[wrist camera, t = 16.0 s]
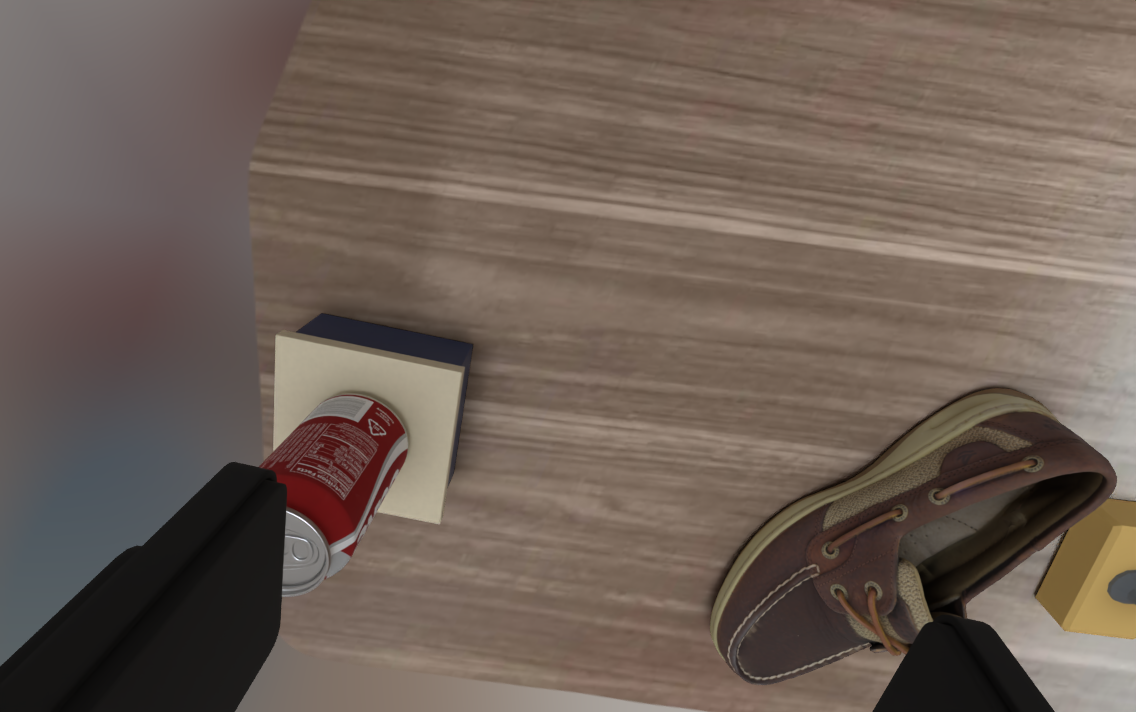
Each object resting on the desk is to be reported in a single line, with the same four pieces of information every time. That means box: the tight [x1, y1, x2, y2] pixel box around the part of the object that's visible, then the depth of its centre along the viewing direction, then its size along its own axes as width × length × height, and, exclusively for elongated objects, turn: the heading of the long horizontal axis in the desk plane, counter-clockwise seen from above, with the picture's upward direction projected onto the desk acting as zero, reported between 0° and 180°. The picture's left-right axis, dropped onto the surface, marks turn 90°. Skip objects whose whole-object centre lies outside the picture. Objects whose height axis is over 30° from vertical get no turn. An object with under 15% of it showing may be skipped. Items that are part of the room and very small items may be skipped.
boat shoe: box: [710, 388, 1117, 685], centre depth 44 cm, size 30×11×11 cm, turn 136°
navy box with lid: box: [273, 313, 473, 524], centre depth 45 cm, size 12×12×6 cm
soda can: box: [259, 393, 408, 597], centre depth 36 cm, size 7×7×12 cm
